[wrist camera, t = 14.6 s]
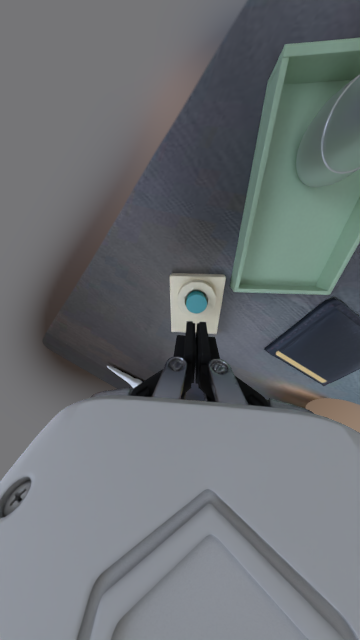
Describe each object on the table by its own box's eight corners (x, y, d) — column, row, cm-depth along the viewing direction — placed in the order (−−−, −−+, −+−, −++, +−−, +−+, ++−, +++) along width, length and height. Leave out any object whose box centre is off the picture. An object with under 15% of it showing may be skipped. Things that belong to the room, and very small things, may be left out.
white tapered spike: (154, 387, 41) (153, 393, 39) (149, 391, 42) (148, 397, 40) (110, 360, 37) (107, 366, 35) (106, 365, 38) (102, 371, 36)
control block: (171, 273, 24) (167, 278, 21) (223, 274, 24) (228, 279, 20) (172, 326, 30) (170, 337, 26) (215, 328, 29) (217, 339, 26)
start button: (186, 290, 22) (186, 294, 20) (207, 290, 22) (208, 294, 20) (186, 308, 23) (185, 313, 22) (205, 309, 23) (206, 314, 22)
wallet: (407, 354, 26) (325, 391, 33) (394, 347, 28) (319, 384, 35) (345, 296, 22) (266, 353, 29) (335, 293, 24) (262, 347, 30)
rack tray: (267, 81, 14) (284, 44, 11) (422, 70, 13) (482, 26, 10) (229, 286, 25) (234, 292, 22) (314, 289, 24) (329, 295, 21)
